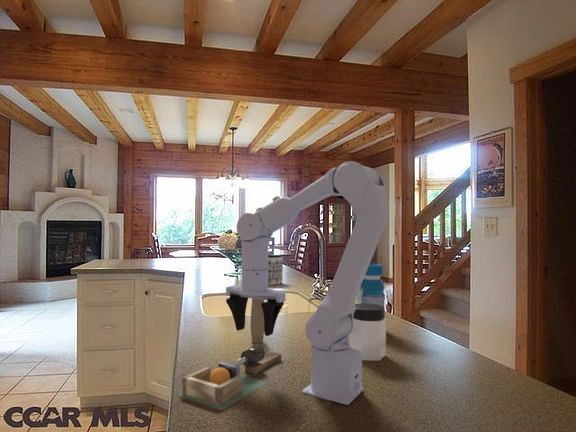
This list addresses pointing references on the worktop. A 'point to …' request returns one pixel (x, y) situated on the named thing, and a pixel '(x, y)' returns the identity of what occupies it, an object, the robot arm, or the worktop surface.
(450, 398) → the worktop surface
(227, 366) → the dark grey round-headed part
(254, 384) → the mat
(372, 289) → the beverage bottle
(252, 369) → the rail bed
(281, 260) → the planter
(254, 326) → the handle
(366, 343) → the jar
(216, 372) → the ball
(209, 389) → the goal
